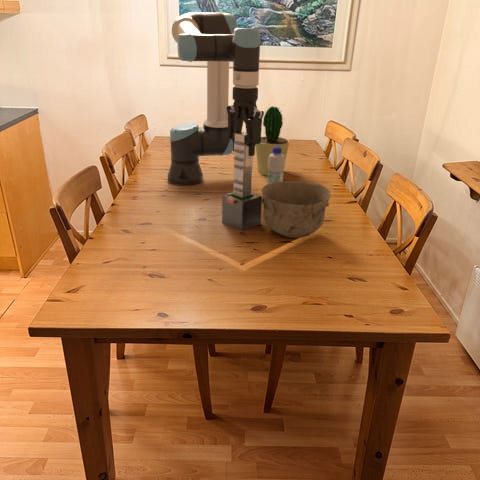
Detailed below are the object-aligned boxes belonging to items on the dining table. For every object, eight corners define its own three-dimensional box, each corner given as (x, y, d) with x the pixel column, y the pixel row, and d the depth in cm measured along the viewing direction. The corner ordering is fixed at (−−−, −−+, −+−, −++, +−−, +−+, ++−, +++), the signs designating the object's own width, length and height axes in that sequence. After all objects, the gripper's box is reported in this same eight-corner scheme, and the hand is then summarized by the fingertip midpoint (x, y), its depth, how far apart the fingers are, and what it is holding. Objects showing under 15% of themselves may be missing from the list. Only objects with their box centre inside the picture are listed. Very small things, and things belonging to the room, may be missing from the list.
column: (231, 200, 147) (233, 133, 137) (241, 197, 150) (243, 131, 140) (241, 204, 144) (243, 135, 134) (251, 201, 147) (254, 133, 138)
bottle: (281, 200, 174) (285, 149, 165) (264, 199, 175) (267, 148, 166) (283, 194, 180) (287, 145, 171) (267, 193, 181) (269, 144, 172)
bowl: (281, 255, 133) (285, 208, 127) (246, 227, 150) (248, 184, 144) (340, 241, 142) (346, 197, 136) (301, 216, 160) (305, 176, 153)
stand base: (211, 225, 151) (211, 194, 146) (240, 214, 160) (241, 185, 155) (241, 239, 142) (242, 206, 137) (270, 226, 151) (272, 196, 147)
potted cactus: (294, 174, 205) (299, 106, 192) (267, 179, 197) (271, 109, 184) (273, 165, 216) (277, 101, 203) (247, 170, 208) (249, 103, 195)
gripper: (215, 84, 134) (215, 160, 145) (258, 90, 124) (255, 172, 134) (233, 82, 139) (232, 156, 150) (276, 88, 129) (271, 167, 139)
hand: (243, 163), depth 142 cm, fingers open, 4 cm apart
